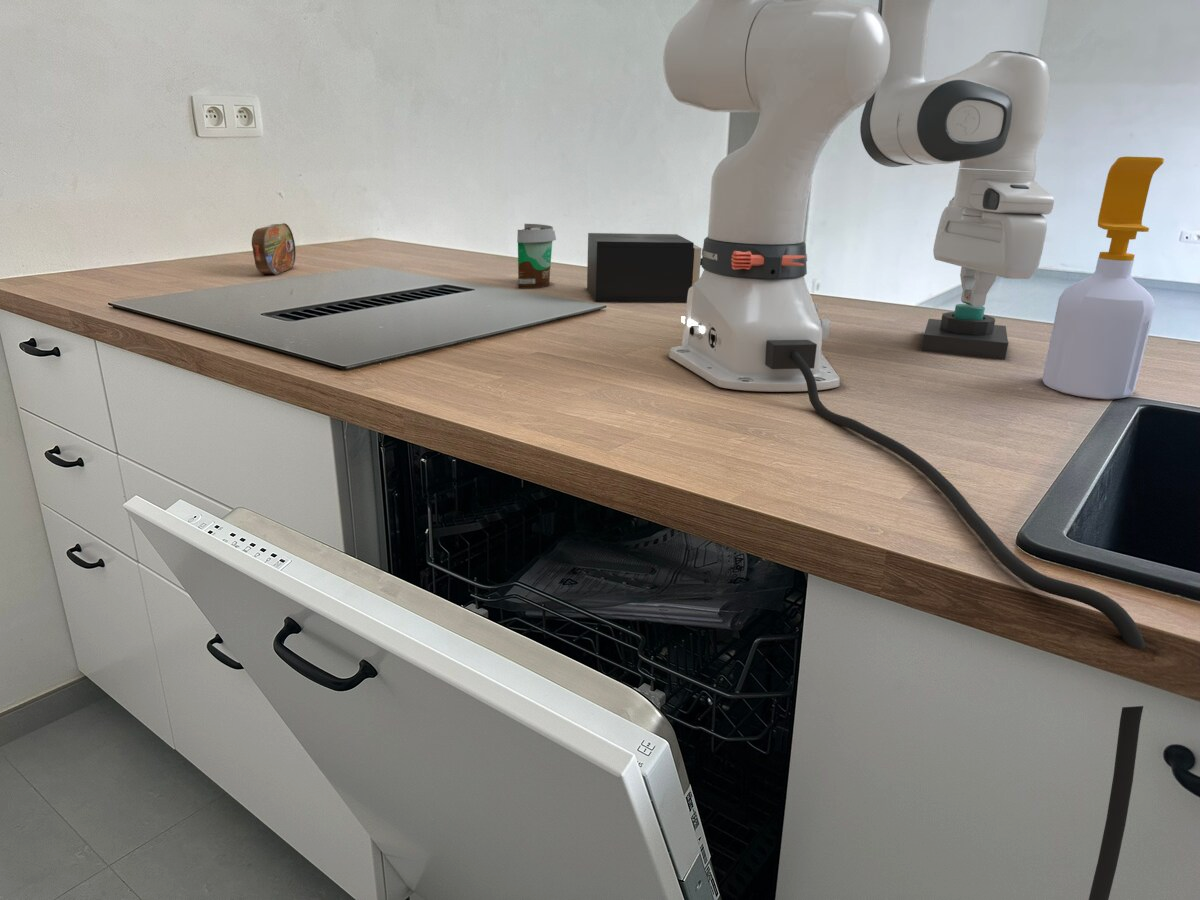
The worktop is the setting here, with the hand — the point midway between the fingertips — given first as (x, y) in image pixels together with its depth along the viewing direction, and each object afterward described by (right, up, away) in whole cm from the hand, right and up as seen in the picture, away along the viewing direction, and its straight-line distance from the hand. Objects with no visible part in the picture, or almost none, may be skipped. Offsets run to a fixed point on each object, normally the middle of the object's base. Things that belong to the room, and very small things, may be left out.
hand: (972, 304), depth 112 cm
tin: (-109, +14, +48) cm, 120 cm away
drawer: (-38, +8, +34) cm, 52 cm away
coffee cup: (-60, +11, +42) cm, 74 cm away
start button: (0, -2, +2) cm, 2 cm away
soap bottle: (+6, -12, -16) cm, 21 cm away
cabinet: (-42, +7, +33) cm, 54 cm away
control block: (0, -5, +3) cm, 6 cm away
